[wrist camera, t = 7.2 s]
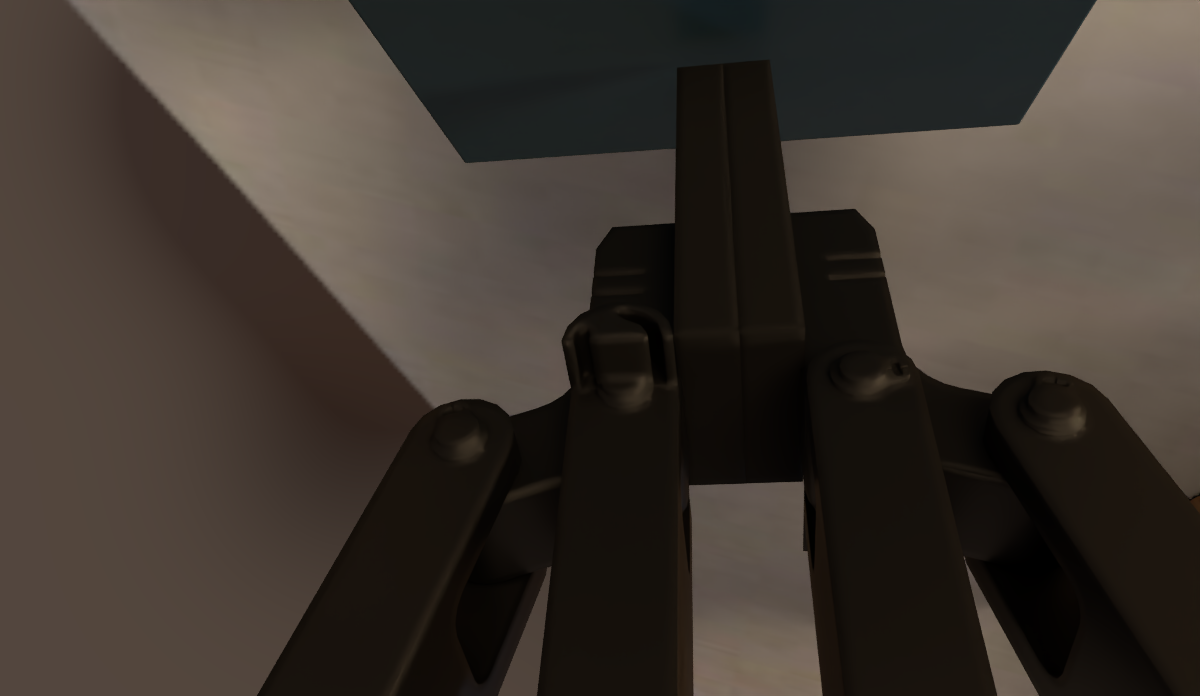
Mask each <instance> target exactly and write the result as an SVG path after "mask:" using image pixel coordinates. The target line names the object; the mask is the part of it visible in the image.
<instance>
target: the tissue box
mask: <svg viewBox="0 0 1200 696" xmlns="http://www.w3.org/2000/svg"><path fill="white" fill-rule="evenodd" d="M1096 1H1097V0H349V2H350V3H351V4H352V6H353V7H354V9H355V10H356V11H357V13H358V14H359V16H360V17H361V18H362V20H363V21H364V23H365V24H366V25H367V27H368V28H369V29H370V31H371V32H372V34H373V35H374V36H375V38H376V39H377V41H378V42H379V43H380V45H381V46H382V48H383V49H384V50H385V52H386V53H387V55H388V56H389V57H390V59H391V60H392V62H393V63H394V64H395V66H396V67H397V68H398V70H399V71H400V73H401V74H402V75H403V77H404V78H405V80H406V81H407V82H408V84H409V85H410V87H411V88H412V89H413V91H414V92H415V94H416V95H417V96H418V98H419V99H420V101H421V102H422V103H423V105H424V106H425V107H426V109H427V110H428V112H429V113H430V114H431V116H432V117H433V119H434V120H435V121H436V123H437V124H438V126H439V127H440V128H441V130H442V131H443V133H444V134H445V135H446V137H447V138H448V140H449V141H450V142H451V144H452V145H453V147H454V148H455V149H456V151H457V152H458V153H459V155H460V156H461V158H462V159H463V160H464V162H465V163H475V162H489V161H503V160H517V159H532V158H546V157H560V156H575V155H589V154H603V153H617V152H632V151H646V150H660V149H674V148H676V100H677V67H688V66H700V65H712V64H723V63H734V62H746V61H757V60H769V59H770V65H771V72H772V80H773V87H774V95H775V102H776V110H777V118H778V125H779V133H780V140H781V141H789V140H803V139H817V138H831V137H846V136H860V135H874V134H889V133H903V132H917V131H931V130H946V129H960V128H974V127H988V126H1003V125H1017V124H1019V123H1020V122H1021V120H1022V118H1023V117H1024V115H1025V114H1026V112H1027V111H1028V109H1029V107H1030V106H1031V104H1032V103H1033V101H1034V99H1035V98H1036V96H1037V95H1038V93H1039V91H1040V90H1041V88H1042V87H1043V85H1044V83H1045V82H1046V80H1047V79H1048V77H1049V75H1050V74H1051V72H1052V71H1053V69H1054V68H1055V66H1056V64H1057V63H1058V61H1059V60H1060V58H1061V56H1062V55H1063V53H1064V52H1065V50H1066V48H1067V47H1068V45H1069V44H1070V42H1071V40H1072V39H1073V37H1074V36H1075V34H1076V32H1077V31H1078V29H1079V28H1080V26H1081V24H1082V23H1083V21H1084V20H1085V18H1086V17H1087V15H1088V13H1089V12H1090V10H1091V9H1092V7H1093V5H1094V4H1095V2H1096Z"/></svg>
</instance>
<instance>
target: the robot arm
mask: <svg viewBox="0 0 1200 696" xmlns="http://www.w3.org/2000/svg"><path fill="white" fill-rule="evenodd" d="M562 346H563V351H564V356H565V361H566V366H567V371H568V376H569V381H570V385H571V388H570V389H569V390H568V391H567V392H566V393H565V394H564V395H562V396H561V397H559V398H558V399H556V400H554V401H553V402H551V403H549V404H547V405H544V406H542V407H539V408H536V409H533V410H530V411H527V412H523V413H520V414H517V415H513V416H510V417H509V415H508V414H507V413H506V412H505V411H504V410H503V409H502V408H500V407H499V406H498V405H497V404H494V403H491V402H487V401H484V400H481V399H460V400H457V401H453V402H450V403H447V404H443V405H440V406H438V407H437V408H435V409H434V410H432V411H430V412H429V413H427V414H426V415H424V416H423V417H422V418H421V419H420V420H419V421H418V423H417V424H416V425H415V426H414V427H413V428H412V430H411V431H410V433H409V434H408V436H407V438H406V440H405V441H404V443H403V445H402V447H401V448H400V450H399V452H398V453H397V455H396V457H395V458H394V460H393V462H392V464H391V465H390V467H389V469H388V470H387V472H386V474H385V476H384V477H383V479H382V481H381V483H380V484H379V486H378V488H377V489H376V491H375V493H374V495H373V496H372V498H371V500H370V502H369V503H368V505H367V507H366V508H365V510H364V512H363V514H362V515H361V517H360V519H359V521H358V522H357V524H356V526H355V527H354V529H353V531H352V533H351V534H350V536H349V538H348V540H347V541H346V543H345V545H344V546H343V548H342V550H341V552H340V553H339V555H338V557H337V558H336V560H335V562H334V564H333V565H332V567H331V569H330V571H329V572H328V574H327V576H326V577H325V579H324V581H323V583H322V584H321V586H320V588H319V590H318V591H317V593H316V595H315V596H314V598H313V600H312V602H311V603H310V605H309V607H308V609H307V610H306V612H305V614H304V615H303V617H302V619H301V621H300V622H299V624H298V626H297V628H296V629H295V631H294V633H293V634H292V636H291V638H290V640H289V641H288V643H287V645H286V647H285V648H284V650H283V652H282V654H281V655H280V657H279V659H278V660H277V662H276V664H275V666H274V667H273V669H272V671H271V673H270V674H269V676H268V678H267V679H266V681H265V683H264V684H263V686H262V688H261V690H260V691H259V693H258V695H257V696H498V693H499V691H500V688H501V686H502V683H503V681H504V678H505V676H506V673H507V671H508V668H509V666H510V663H511V661H512V658H513V656H514V653H515V651H516V648H517V646H518V643H519V641H520V638H521V636H522V633H523V631H524V628H525V626H526V623H527V621H528V618H529V616H530V613H531V611H532V608H533V606H534V603H535V601H536V598H537V596H538V593H539V591H540V588H541V586H542V583H543V581H544V578H545V576H546V571H547V567H550V566H552V567H551V576H550V585H549V594H548V603H547V612H546V621H545V630H544V639H543V648H542V656H541V666H540V675H539V683H538V692H537V696H693V602H692V518H691V508H690V498H689V485H713V484H744V483H771V482H803V480H804V533H803V551H808V560H809V570H810V579H811V589H812V598H813V608H814V617H815V627H816V636H817V646H818V656H819V665H820V675H821V684H822V694H823V696H997V693H996V689H995V684H994V680H993V676H992V672H991V668H990V664H989V660H988V655H987V651H986V647H985V643H984V639H983V635H982V631H981V626H980V622H979V618H978V614H977V610H976V606H975V602H974V597H973V593H972V589H971V585H970V581H969V577H968V573H967V568H966V564H965V560H964V556H965V559H966V563H967V565H968V567H969V569H970V571H971V573H972V574H973V576H974V578H975V580H976V582H977V583H978V585H979V587H980V589H981V591H982V593H983V594H984V596H985V598H986V600H987V602H988V604H989V605H990V607H991V609H992V611H993V613H994V614H995V616H996V618H997V620H998V622H999V624H1000V625H1001V627H1002V629H1003V631H1004V633H1005V634H1006V636H1007V638H1008V640H1009V642H1010V644H1011V645H1012V647H1013V649H1014V651H1015V653H1016V654H1017V656H1018V658H1019V660H1020V662H1021V664H1022V665H1023V667H1024V669H1025V671H1026V673H1027V674H1028V676H1029V678H1030V680H1031V682H1032V684H1033V685H1034V687H1035V689H1036V691H1037V693H1038V695H1039V696H1200V513H1199V512H1198V510H1197V509H1196V508H1195V507H1194V505H1193V504H1192V503H1191V502H1190V500H1189V499H1188V498H1187V497H1186V495H1185V494H1184V493H1183V492H1182V490H1181V489H1180V488H1179V487H1178V485H1177V484H1176V483H1175V482H1174V480H1173V479H1172V478H1171V477H1170V475H1169V474H1168V473H1167V472H1166V470H1165V469H1164V468H1163V467H1162V465H1161V464H1160V463H1159V462H1158V460H1157V459H1156V458H1155V457H1154V455H1153V454H1152V453H1151V452H1150V450H1149V449H1148V448H1147V447H1146V445H1145V444H1144V443H1143V442H1142V440H1141V439H1140V438H1139V437H1138V436H1137V434H1136V433H1135V432H1134V431H1133V429H1132V428H1131V427H1130V426H1129V424H1128V423H1127V422H1126V421H1125V419H1124V418H1123V417H1122V416H1121V414H1120V413H1119V412H1118V411H1117V409H1116V408H1115V407H1114V406H1113V404H1112V403H1111V402H1110V401H1109V399H1108V398H1107V397H1105V396H1104V395H1103V394H1102V393H1101V392H1100V391H1098V390H1097V389H1096V388H1095V387H1094V386H1093V385H1091V384H1089V383H1087V382H1085V381H1082V380H1080V379H1078V378H1076V377H1074V376H1071V375H1068V374H1062V373H1057V372H1051V371H1034V372H1023V373H1020V374H1018V375H1015V376H1013V377H1010V378H1008V379H1005V380H1004V381H1003V382H1002V383H1001V384H1000V385H999V386H998V387H997V388H996V389H995V390H994V391H993V392H992V394H989V393H984V392H979V391H974V390H968V389H963V388H959V387H955V386H952V385H948V384H944V383H942V382H940V381H938V380H936V379H933V378H931V377H929V376H927V375H926V374H925V373H923V372H922V371H921V370H919V369H918V368H917V367H916V366H915V364H914V363H913V361H912V359H911V358H909V357H908V356H907V355H906V353H905V351H904V349H903V346H902V343H901V339H900V335H899V330H898V326H897V322H896V318H895V313H894V309H893V305H892V300H891V296H890V292H889V288H888V283H887V279H886V277H885V271H884V266H883V262H882V258H881V257H880V249H879V245H878V241H877V236H876V232H875V229H874V228H873V227H872V226H871V225H870V224H869V223H868V222H867V221H866V220H865V219H864V217H863V216H862V215H861V214H860V213H859V212H858V211H857V210H856V209H845V210H829V211H814V212H799V213H790V208H789V201H788V193H787V186H786V178H785V170H784V163H783V155H782V148H781V140H780V133H779V125H778V118H777V110H776V102H775V95H774V87H773V80H772V72H771V65H770V59H769V60H757V61H746V62H734V63H723V64H712V65H700V66H688V67H677V100H676V178H675V223H669V224H654V225H639V226H624V227H612V228H611V230H610V231H609V232H608V234H607V235H606V237H605V238H604V239H603V241H602V242H601V243H600V245H599V246H598V247H597V249H596V256H595V265H594V277H593V284H592V297H591V303H590V310H588V311H586V312H584V313H582V314H580V315H579V316H578V317H577V318H576V319H575V320H574V321H573V322H572V323H571V324H569V325H568V326H567V329H566V331H565V333H564V336H563V338H562Z"/></svg>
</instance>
